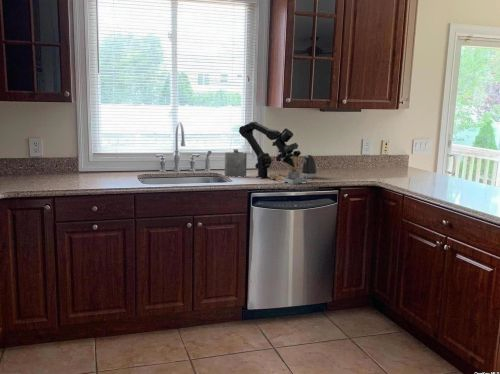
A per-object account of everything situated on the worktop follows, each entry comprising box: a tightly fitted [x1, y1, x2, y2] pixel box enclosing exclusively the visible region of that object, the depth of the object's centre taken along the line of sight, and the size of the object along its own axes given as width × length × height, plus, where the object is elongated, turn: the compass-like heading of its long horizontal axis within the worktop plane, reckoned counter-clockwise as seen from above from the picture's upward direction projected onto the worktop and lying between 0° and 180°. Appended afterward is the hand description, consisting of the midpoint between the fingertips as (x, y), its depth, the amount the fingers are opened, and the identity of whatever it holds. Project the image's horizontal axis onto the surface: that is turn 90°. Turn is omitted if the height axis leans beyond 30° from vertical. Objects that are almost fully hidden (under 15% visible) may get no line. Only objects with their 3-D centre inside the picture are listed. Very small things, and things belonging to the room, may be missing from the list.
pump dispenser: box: [301, 154, 318, 179], centre depth 330 cm, size 10×10×15 cm
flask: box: [224, 148, 248, 177], centre depth 331 cm, size 4×14×18 cm, turn 86°
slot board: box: [269, 173, 288, 181], centre depth 322 cm, size 12×10×3 cm
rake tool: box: [287, 156, 300, 179], centre depth 311 cm, size 5×5×13 cm
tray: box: [280, 176, 307, 185], centre depth 312 cm, size 11×11×3 cm
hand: (295, 166), depth 310 cm, fingers closed on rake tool, 3 cm apart
